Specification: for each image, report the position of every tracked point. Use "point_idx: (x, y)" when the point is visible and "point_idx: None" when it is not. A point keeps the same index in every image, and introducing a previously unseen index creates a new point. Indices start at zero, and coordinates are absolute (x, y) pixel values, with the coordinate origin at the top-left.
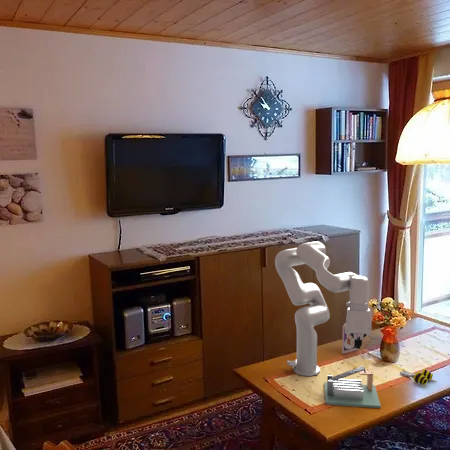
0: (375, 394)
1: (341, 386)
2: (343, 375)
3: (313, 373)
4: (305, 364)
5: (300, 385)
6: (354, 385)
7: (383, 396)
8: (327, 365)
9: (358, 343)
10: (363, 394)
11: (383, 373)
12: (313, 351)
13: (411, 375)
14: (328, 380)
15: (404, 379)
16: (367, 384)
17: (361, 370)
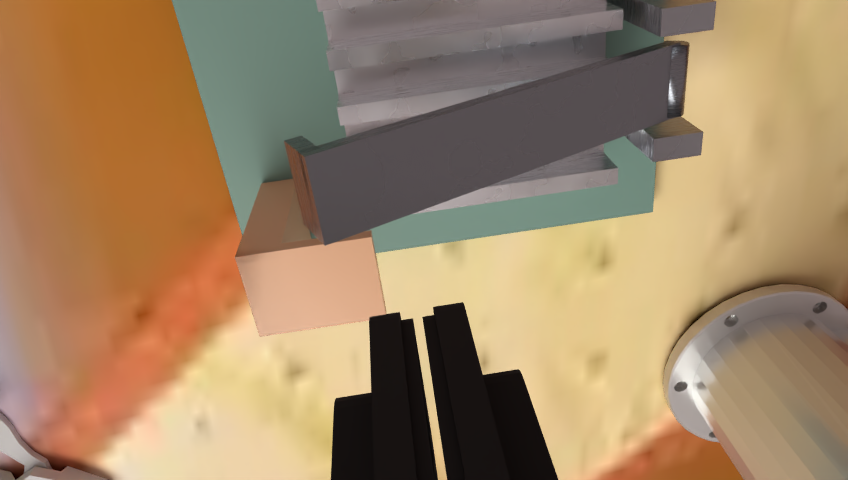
0: (225, 118)
1: (544, 34)
2: (554, 100)
3: (724, 316)
4: (826, 356)
5: (839, 135)
6: (414, 95)
7: (164, 136)
8: (601, 461)
9: (429, 436)
10: (327, 88)
11: (224, 463)
12: (831, 468)
13: (22, 477)
14: (709, 18)
15: (67, 428)
16: (305, 233)
17: (342, 141)
